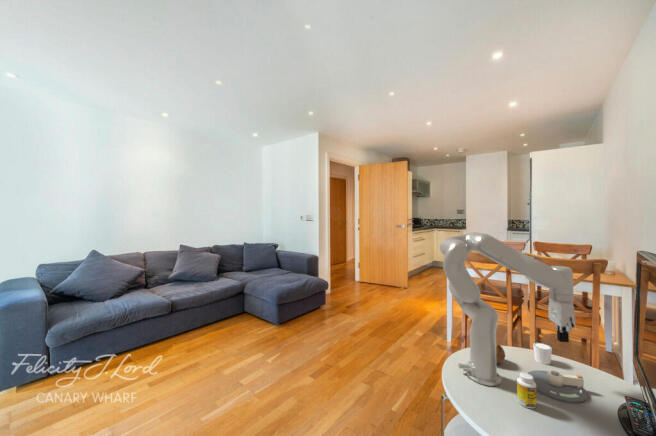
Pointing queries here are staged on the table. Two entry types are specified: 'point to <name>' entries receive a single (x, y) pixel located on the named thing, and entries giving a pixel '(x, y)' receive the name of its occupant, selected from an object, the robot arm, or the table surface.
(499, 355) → the onion
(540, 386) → the dial
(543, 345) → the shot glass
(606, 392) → the table surface
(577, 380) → the lever
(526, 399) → the supplement bottle
